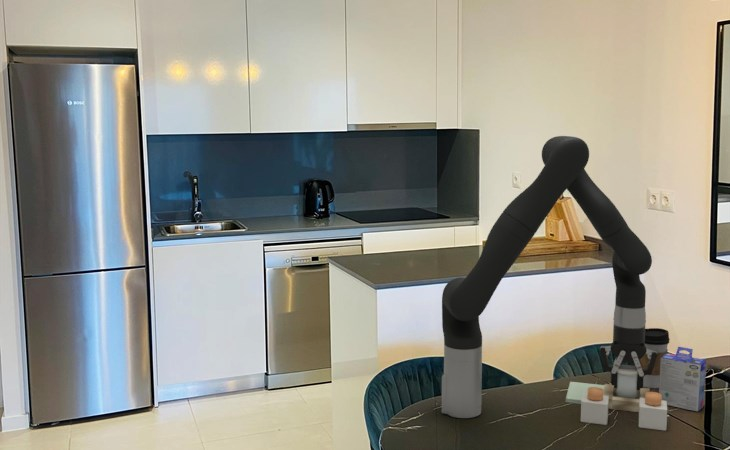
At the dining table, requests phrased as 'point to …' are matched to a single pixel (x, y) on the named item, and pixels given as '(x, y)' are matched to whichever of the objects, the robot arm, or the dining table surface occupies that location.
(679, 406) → the ink cartridge box
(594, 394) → the plunger left
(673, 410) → the dining table surface
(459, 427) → the dining table surface
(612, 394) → the collar
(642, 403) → the plunger posts
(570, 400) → the mat
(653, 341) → the coffee cup
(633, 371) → the canister
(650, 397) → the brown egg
